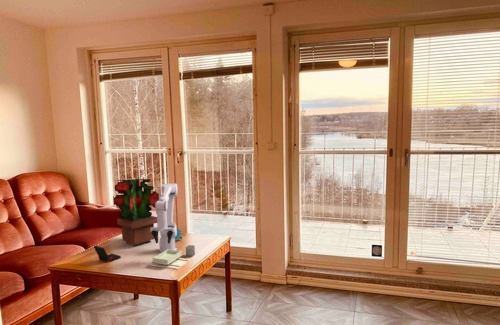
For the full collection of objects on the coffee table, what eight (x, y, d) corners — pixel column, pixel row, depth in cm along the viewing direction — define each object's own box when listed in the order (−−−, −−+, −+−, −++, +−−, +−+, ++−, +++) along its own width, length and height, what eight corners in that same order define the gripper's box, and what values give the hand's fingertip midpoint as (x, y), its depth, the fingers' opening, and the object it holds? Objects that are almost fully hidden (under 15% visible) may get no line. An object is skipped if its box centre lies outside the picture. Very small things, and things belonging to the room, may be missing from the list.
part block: (186, 256, 207) (185, 247, 206) (189, 254, 210) (189, 244, 210) (191, 257, 205) (191, 247, 205) (194, 254, 209) (194, 245, 208)
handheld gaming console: (121, 258, 206) (120, 242, 206) (103, 265, 196) (102, 248, 195) (111, 255, 211) (110, 240, 211) (94, 262, 201) (93, 245, 200)
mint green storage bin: (152, 264, 192) (152, 257, 191) (167, 255, 206) (167, 249, 206) (167, 266, 188) (167, 259, 188) (182, 257, 202) (181, 250, 202)
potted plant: (115, 243, 235) (112, 180, 231) (143, 235, 252) (140, 176, 248) (132, 250, 221) (128, 182, 217) (161, 241, 237) (158, 178, 233)
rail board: (149, 265, 193) (149, 263, 193) (163, 256, 206) (163, 255, 206) (177, 269, 187) (177, 267, 187) (190, 260, 200) (190, 258, 200)
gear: (165, 238, 238) (172, 226, 243) (169, 242, 242) (176, 230, 248) (177, 242, 233) (184, 230, 239) (181, 246, 238) (188, 234, 243)
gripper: (147, 222, 197) (148, 244, 198) (171, 222, 195) (172, 245, 196) (152, 219, 204) (153, 241, 205) (175, 219, 202) (176, 241, 203)
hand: (163, 242), depth 201 cm, fingers open, 7 cm apart
